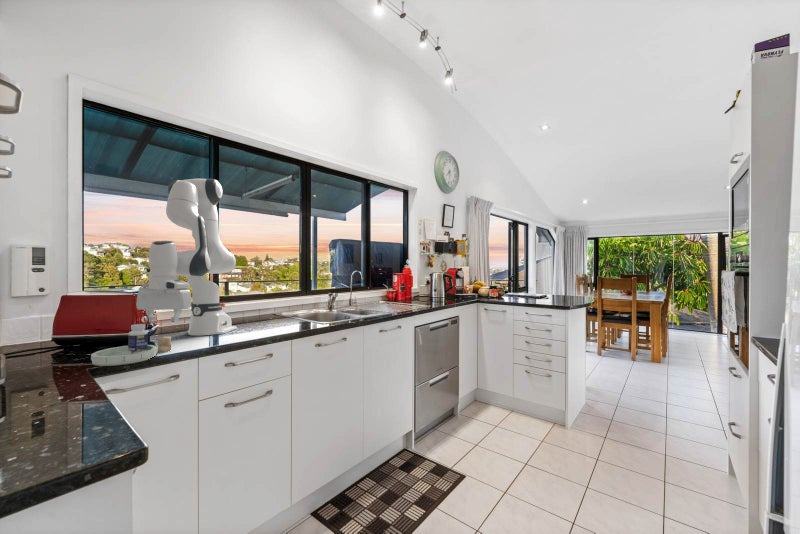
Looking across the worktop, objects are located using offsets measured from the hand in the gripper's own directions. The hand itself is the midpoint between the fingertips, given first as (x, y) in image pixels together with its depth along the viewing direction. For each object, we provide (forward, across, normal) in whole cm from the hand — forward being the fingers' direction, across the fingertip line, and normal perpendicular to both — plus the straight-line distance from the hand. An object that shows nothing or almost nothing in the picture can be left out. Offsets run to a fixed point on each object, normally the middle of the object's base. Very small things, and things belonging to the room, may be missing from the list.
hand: (163, 321), depth 127 cm
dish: (+11, -4, -11) cm, 16 cm away
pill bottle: (+10, -4, -6) cm, 13 cm away
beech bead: (+11, 0, +1) cm, 11 cm away
